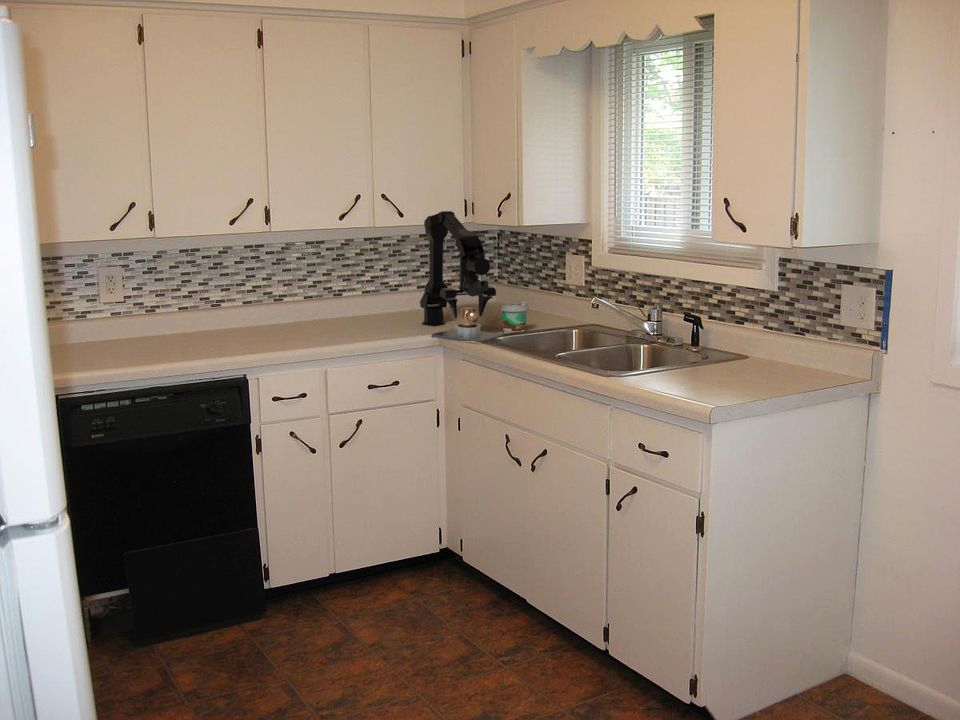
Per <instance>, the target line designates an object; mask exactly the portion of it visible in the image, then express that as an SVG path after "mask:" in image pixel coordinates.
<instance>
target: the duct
mask: <svg viewBox="0 0 960 720" xmlns="http://www.w3.org/2000/svg"><path fill="white" fill-rule="evenodd" d="M481 328H482V326H481V324H479V323H478V324H477V323H475V327H471V328H466V327H461V323H457V324H455V326H454V328H451V329H447V330H445V331H444V330H443V331H441V332H435V333H431V338H437V339H443V340H449V341H455V342H456V341H457V342H461V341H475V342H481V341H485V340H488V339H492V338H496V337H499V336H502V335H504V336H505V333H497V332H490V331H482V329H481Z"/></svg>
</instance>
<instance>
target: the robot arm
mask: <svg viewBox="0 0 960 720" xmlns="http://www.w3.org/2000/svg"><path fill="white" fill-rule="evenodd" d="M423 226H424V229H425V231H424V232H425V235H426V236H427V238H428V239H429V278H428V281H427V283H426V285H425V286H424V293H423V295H422V297H421V299H420V301H419V304H420V305H419V306H420V308H422V309H423V312H424V318H423V319H424V320H423V322H421V325H426V326H441V325H445V324H446V322H445V321H444V310H443V308H447V306H448V305H449V308H450V309H451V312H452V315H453V317H454V319H457V318H458V309H457V307H458V305H457V303H458V298H456V297H457V296H469V297H476V296H477V297H478V315H479V318H481V317H482V316H483V313H484V310H485V307H486V305H487V303H488V302H489V300H491V299H493V297H496V296H497V289H496V287H493V286H490V285H489V282H488V280H482V281H479V275H480V276H485V275H487V274H488V273H489V272H490V268H491V264H490V262H489V260H488V259H487V258H485V257H486V254H485V249H484V246H483V244H482V241H481V238H480V236H479V235H478V234H477V233H475V232H474V231H471V230H468V229H466V227H465V226H464V225H463V224H462V223H461V221H460V220H459V219H458V218H457V216H456V214H455V212H454V211H450V210H447V211H446V210H442V211H439V212H438V213H436V214H432V215H429V216H427V217H426V218H425V219H424V222H423ZM448 234H451V235H452V237H453V238H454V240H455V246H456V248H457V251H458V252H459V253H458V254H457V257H458V258H459V274H458V278H459V285H458V289H455V288H452V287H448V285H446V284H445V282H444V276H443V274H444V241H445V239H446V238H447V236H448Z"/></svg>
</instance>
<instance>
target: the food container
mask: <svg viewBox="0 0 960 720" xmlns="http://www.w3.org/2000/svg"><path fill="white" fill-rule="evenodd" d="M529 310H530V308H529V304H528V302H527V301H520V303H518V304H510V305H506V304H502V305H501V310H500V311H501V312H502V328H503V329H502V331H503V332H504V331H521V330H525V331H526V324H527V312H528V311H529Z"/></svg>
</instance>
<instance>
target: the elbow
mask: <svg viewBox="0 0 960 720" xmlns="http://www.w3.org/2000/svg"><path fill="white" fill-rule="evenodd" d="M479 318H480V316H479V312H476V307H470V306H468V307H467V306H466V307H465V306H464V307H461V308H460V324H461V327H466V328H471V327H475V324H476V322H478V321H479Z"/></svg>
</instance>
